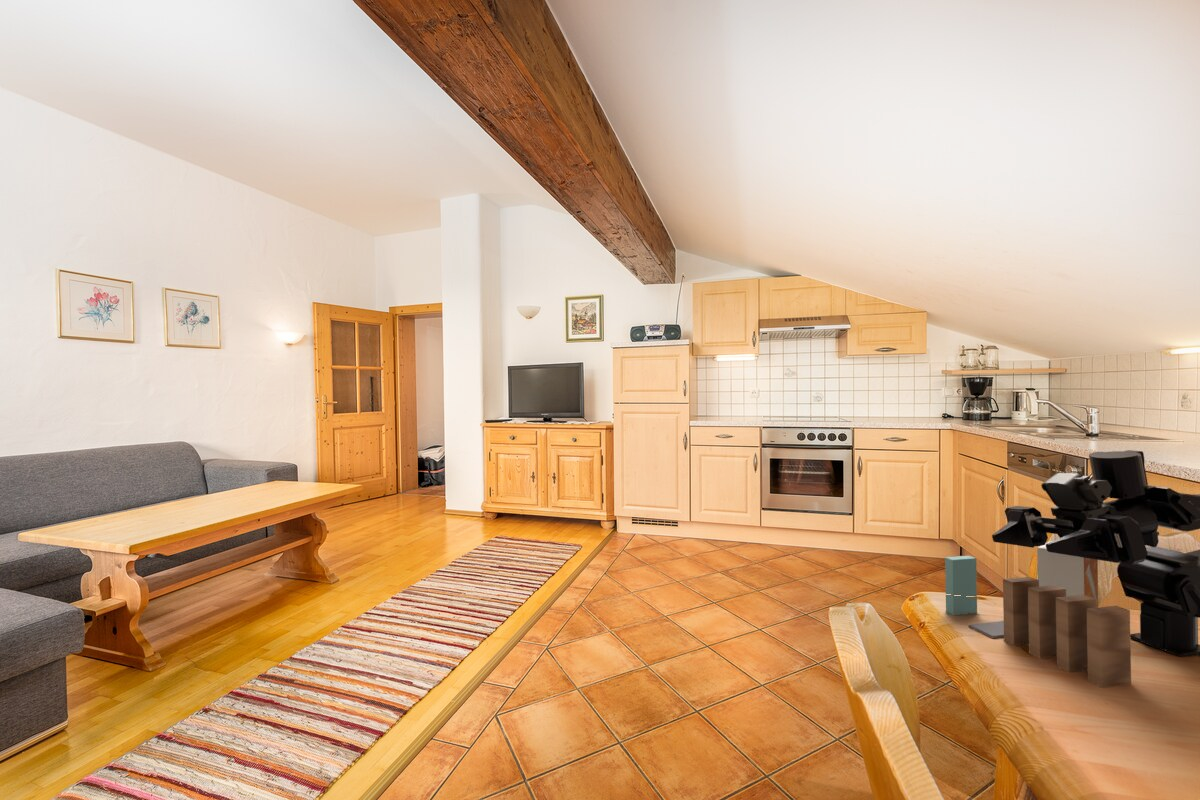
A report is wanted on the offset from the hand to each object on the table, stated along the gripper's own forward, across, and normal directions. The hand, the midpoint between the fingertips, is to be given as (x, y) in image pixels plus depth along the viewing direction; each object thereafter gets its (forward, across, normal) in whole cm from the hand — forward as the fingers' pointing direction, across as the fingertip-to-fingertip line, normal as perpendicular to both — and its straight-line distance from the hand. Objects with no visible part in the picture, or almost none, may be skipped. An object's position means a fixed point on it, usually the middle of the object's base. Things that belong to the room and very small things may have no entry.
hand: (1018, 543), depth 77 cm
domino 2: (-1, -6, +17) cm, 18 cm away
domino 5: (-2, +6, +18) cm, 20 cm away
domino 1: (0, -17, +15) cm, 23 cm away
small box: (-15, -12, +19) cm, 27 cm away
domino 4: (-2, +2, +18) cm, 18 cm away
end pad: (-1, -10, +16) cm, 19 cm away
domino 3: (-1, -2, +17) cm, 18 cm away
